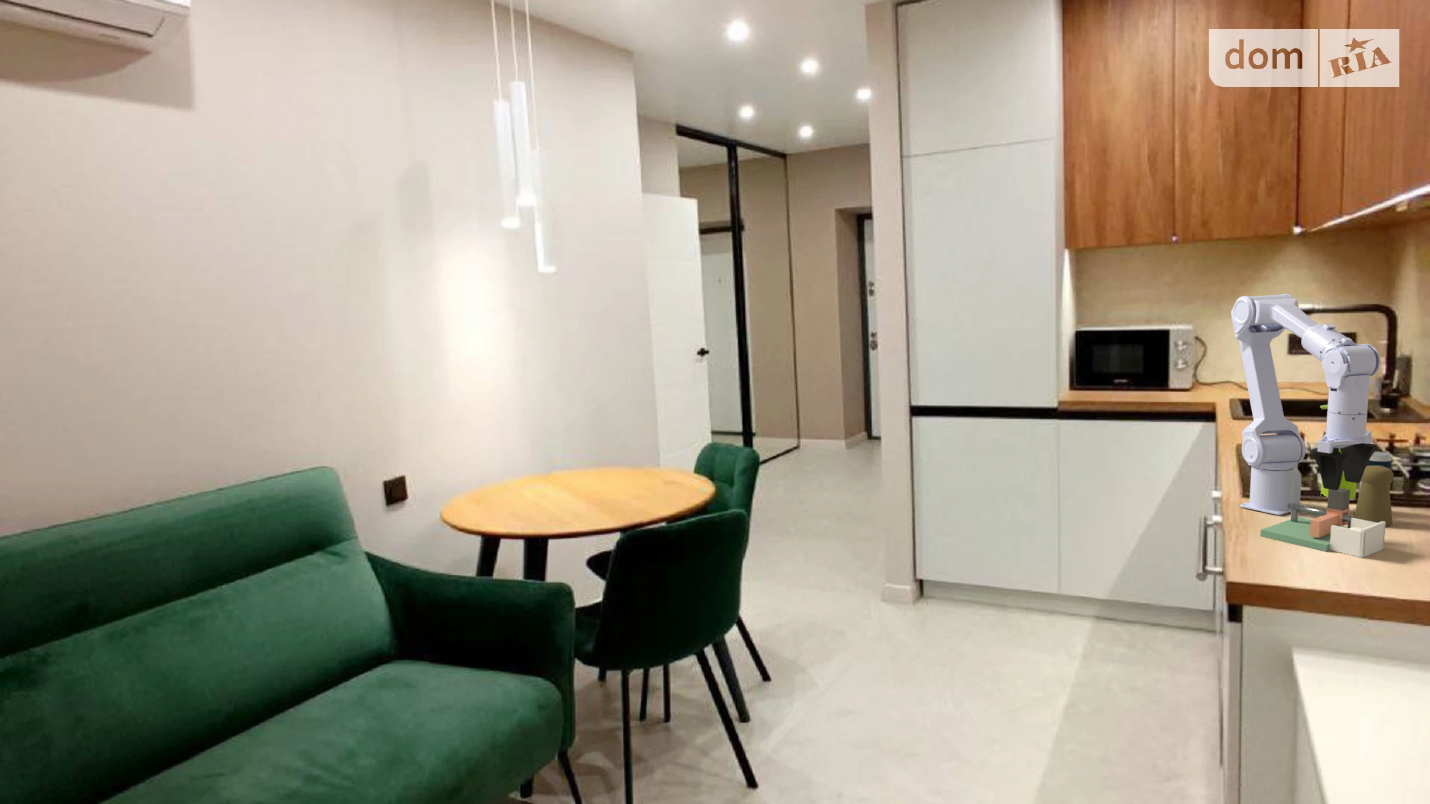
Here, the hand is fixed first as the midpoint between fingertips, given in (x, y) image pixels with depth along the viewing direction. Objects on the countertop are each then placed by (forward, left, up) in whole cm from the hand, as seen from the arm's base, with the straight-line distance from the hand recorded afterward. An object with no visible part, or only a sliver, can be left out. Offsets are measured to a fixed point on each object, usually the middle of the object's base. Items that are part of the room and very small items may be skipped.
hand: (1341, 485), depth 152 cm
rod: (0, -3, -9) cm, 9 cm away
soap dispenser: (-26, -13, -10) cm, 31 cm away
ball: (+5, +5, -8) cm, 10 cm away
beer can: (-21, -4, -10) cm, 24 cm away
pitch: (+3, -3, -10) cm, 11 cm away
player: (+3, 0, -8) cm, 9 cm away
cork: (-14, -1, -10) cm, 17 cm away
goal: (+5, +5, -10) cm, 12 cm away
